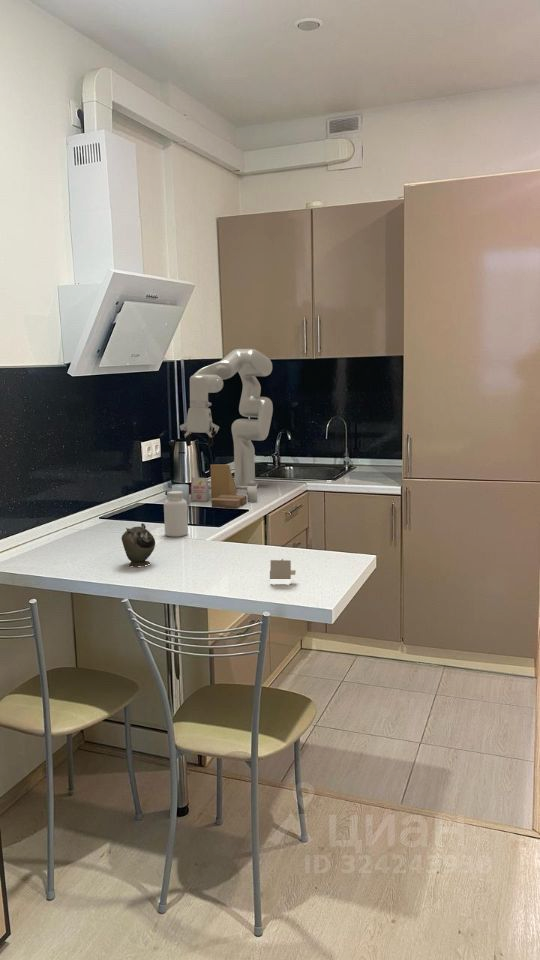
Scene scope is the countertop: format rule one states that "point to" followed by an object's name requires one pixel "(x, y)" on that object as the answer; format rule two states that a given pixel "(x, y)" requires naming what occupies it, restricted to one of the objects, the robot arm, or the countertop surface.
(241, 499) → the podium
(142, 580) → the countertop surface
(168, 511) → the pill bottle
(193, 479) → the tea bag
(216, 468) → the sandwich container
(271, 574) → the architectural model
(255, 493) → the salt shaker
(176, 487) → the mug
